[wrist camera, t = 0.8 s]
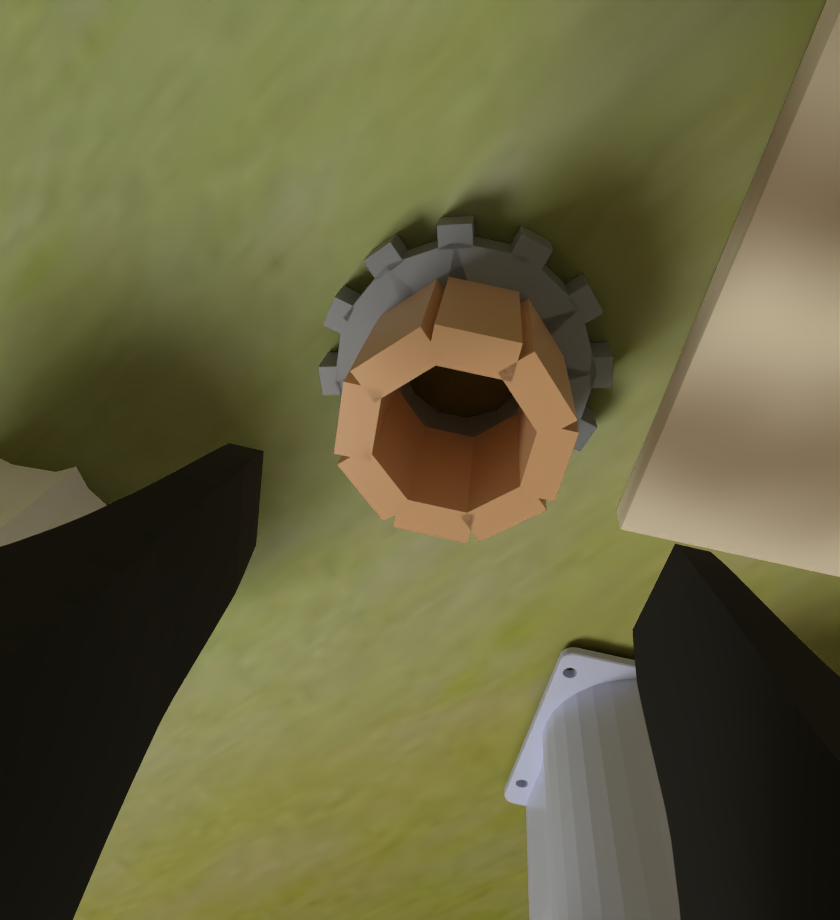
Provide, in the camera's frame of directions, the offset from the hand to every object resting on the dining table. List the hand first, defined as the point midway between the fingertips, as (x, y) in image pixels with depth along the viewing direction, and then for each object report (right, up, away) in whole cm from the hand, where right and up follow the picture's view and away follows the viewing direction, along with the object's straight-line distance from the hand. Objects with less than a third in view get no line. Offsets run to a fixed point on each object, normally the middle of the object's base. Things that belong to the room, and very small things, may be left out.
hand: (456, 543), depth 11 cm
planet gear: (+1, +4, +8) cm, 9 cm away
